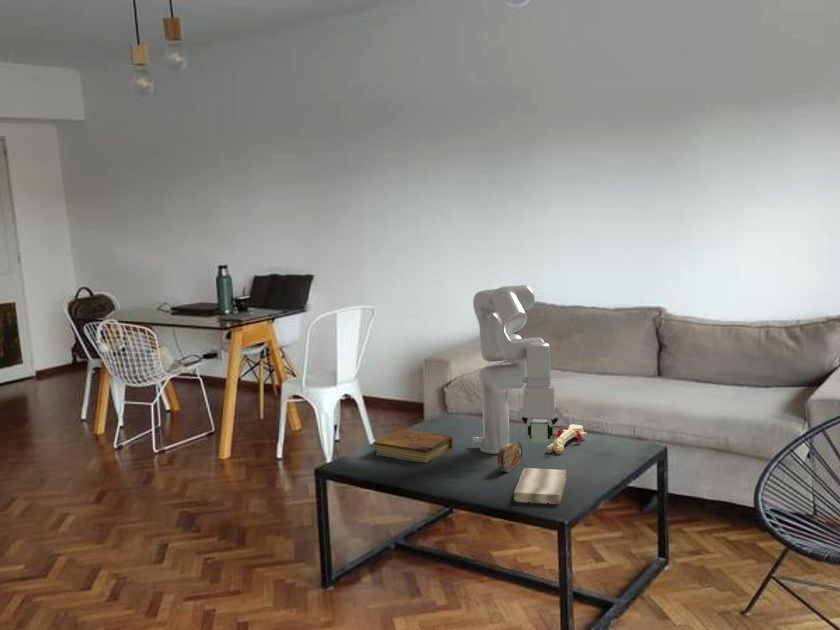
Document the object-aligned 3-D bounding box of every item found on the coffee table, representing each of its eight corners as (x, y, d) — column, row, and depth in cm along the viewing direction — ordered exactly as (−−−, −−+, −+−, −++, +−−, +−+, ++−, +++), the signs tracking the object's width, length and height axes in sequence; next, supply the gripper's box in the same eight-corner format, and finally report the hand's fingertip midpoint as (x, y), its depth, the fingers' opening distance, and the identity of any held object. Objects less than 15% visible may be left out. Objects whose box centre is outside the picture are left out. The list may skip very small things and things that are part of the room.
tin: (504, 475, 276) (503, 451, 274) (496, 474, 277) (495, 450, 276) (523, 461, 288) (522, 438, 287) (515, 460, 290) (514, 437, 288)
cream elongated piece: (566, 459, 292) (592, 434, 312) (565, 436, 290) (591, 413, 311) (541, 455, 298) (567, 431, 318) (539, 433, 296) (566, 410, 316)
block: (531, 442, 257) (531, 423, 256) (533, 437, 262) (533, 419, 261) (547, 442, 256) (547, 424, 255) (549, 437, 260) (548, 419, 260)
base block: (514, 501, 253) (513, 492, 252) (524, 476, 273) (524, 467, 273) (559, 504, 249) (559, 494, 248) (566, 478, 270) (566, 469, 269)
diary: (453, 450, 306) (452, 435, 305) (427, 465, 290) (426, 450, 289) (402, 441, 318) (401, 427, 317) (374, 456, 303) (373, 441, 302)
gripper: (510, 384, 254) (511, 440, 257) (565, 385, 250) (566, 442, 253) (513, 378, 262) (515, 433, 264) (567, 379, 257) (568, 434, 260)
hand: (540, 437), depth 259 cm, fingers closed on block, 5 cm apart
